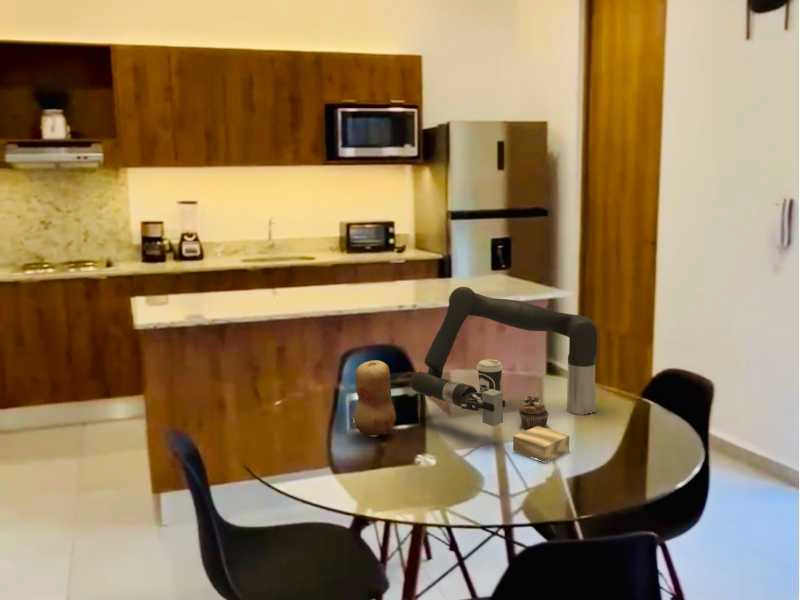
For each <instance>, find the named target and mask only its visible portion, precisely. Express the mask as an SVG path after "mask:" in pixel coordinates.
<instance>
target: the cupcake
mask: <svg viewBox="0 0 800 600" xmlns="http://www.w3.org/2000/svg"><path fill="white" fill-rule="evenodd" d="M549 413H550V412H549V411H548V410H547V407H546V406H545V404H544V403H543V402H542V400H540V397H538V396H537V397H535V396H534V398H533V397H532V396H530V395H528V396H526V398H525V399H524V400H523V402H522V404H521V406H520V408H519V413H518V414H519V416H520V421H521V427H522V428H523V429H525V430H526V431H527V430H529V429H531V428H534V427H536V426H540V427H543V428H546V426H547V423H548V418H549Z"/></svg>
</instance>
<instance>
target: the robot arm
mask: <svg viewBox="0 0 800 600" xmlns="http://www.w3.org/2000/svg"><path fill="white" fill-rule="evenodd" d="M468 316H473V317H479V318H485V319H488V320H491V321H494V322H497V323H499V324H502V325H506V326H509V327H511V328H516V329H520V330H524V331H528V332H529V331H530V332H551V333H555V334H559V335H561V336H565V337H568V339H569V341H568V342H569V343H568V344H569V347H568V354H567V381H566V382H567V383H566V386H567V387H566V390H567V391H566V393H567V394H566V411H567V412H568V411H569V413H570V412H571V414H574V415H581V416H583V415H584V414H586V415H589V414H588V413H591V412H594V411H596V412H597V385H596V382H595V381H596V380H595V379H596V359H597V353H598V351H597V350H598V329H597V327H596V325H595V323H594V322H593V321H592V319H590V318H589V317H587V316H585V315H581V314H572V313H565V312H561V311H560V312H559V311H555V310H552V309H548V308H545V307H543V306H539V305H536V304H533V303H528V302H524V301H521V300H515V299H508V298H507V299H506V298H498V297H497V298H495V297H489V296H485V295H482V294H479V293H477V292H474V290H473V289H471V288H470V287H468V286H459V287H456V288H455V289H454V290H453V291H452V292H451V293H450V296H449V297H448V308H447V311H446V314H445V317H444V319H443V321H442V324H441V326H440V328H439V329H438V331H437V333H436V335H435V337H434V339H433V340H432V342H431V345H430V346H429V349H428V351H427V353H426V356H425V358H424V360H423V361H424V362H423V363H424V364H425V365H426V367H427V368H428V371H427V372H425V371H416V372H415V373H413V374H412V375H411V377H410V378H409V386H410V388H411V389H412V390H413V391H414V392H416V393H418V394H421V395H423V396H426V397H433V398H435V399H438V400H441V401H444V402H446V403H449V404H450V405H453V406H457V407H460V408H461V410H469V411H473V412H474V411H475V412H479V411H480V410H481V411H482V410H484V409H485V410H488V411H491V412H493V411H495V406H494V404H490V403H487V402H484V401H482V392H480V391H477V389H476V387H474V386H473V385H470V384H466V383H463V382H459V381H453V380H449V379H446V378H443V373H444V366H445V365H446V363H447V361H448V358H449V356H450V354H451V352H452V349H453V347H454V344H455V342H456V339H457V337H458V334H459V332H460V330H461V328H462V326H463V324H464V322H465V320H466V319H467V317H468ZM505 407H506V400H505V399H503V408H505ZM591 414H592V413H591Z"/></svg>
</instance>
